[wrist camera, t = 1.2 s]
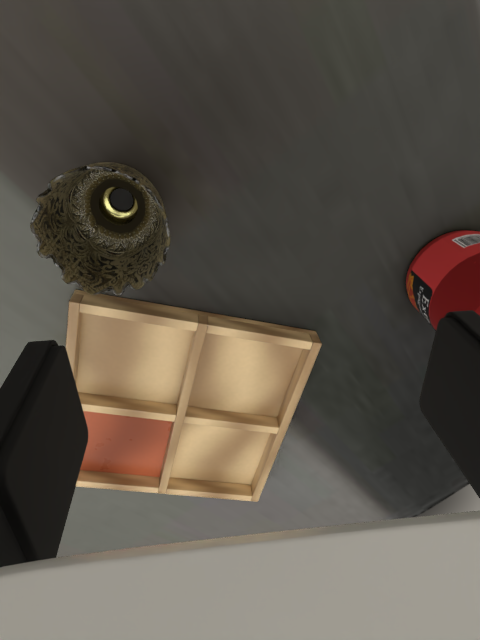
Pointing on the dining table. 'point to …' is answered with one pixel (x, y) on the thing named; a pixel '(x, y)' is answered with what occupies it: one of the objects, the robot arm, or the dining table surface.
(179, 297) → the dining table surface
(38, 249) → the dark bronze bell shape
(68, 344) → the divided tray
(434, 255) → the canned food
